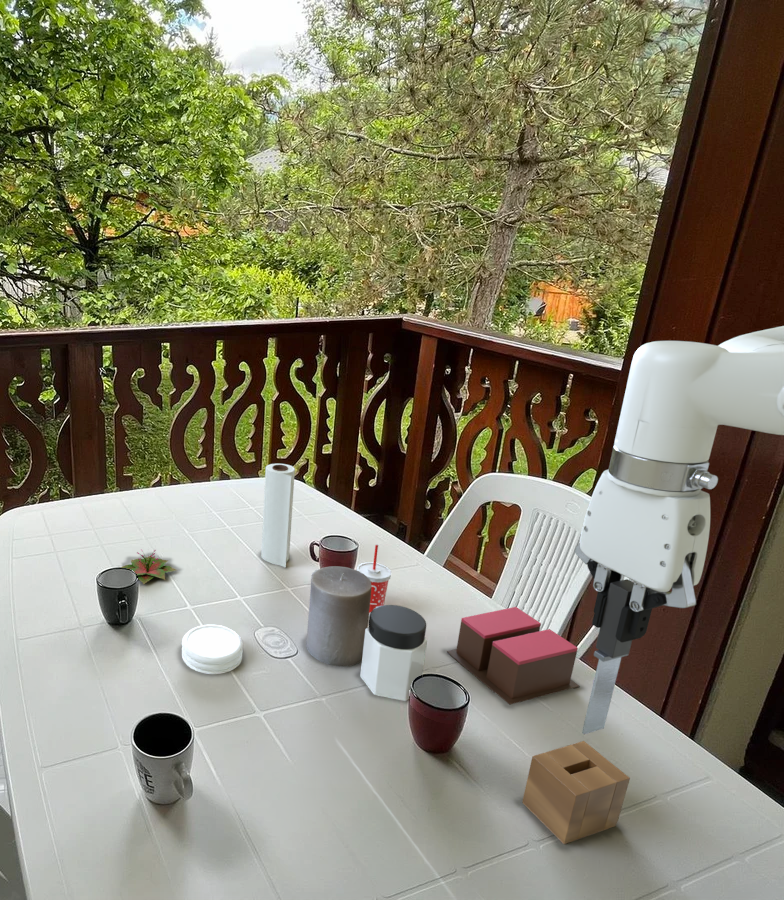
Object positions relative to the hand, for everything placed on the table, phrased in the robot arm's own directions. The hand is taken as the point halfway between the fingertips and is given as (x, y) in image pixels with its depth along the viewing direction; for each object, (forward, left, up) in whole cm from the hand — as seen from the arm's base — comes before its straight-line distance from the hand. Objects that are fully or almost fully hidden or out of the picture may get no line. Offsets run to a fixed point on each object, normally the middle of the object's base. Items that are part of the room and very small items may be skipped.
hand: (616, 630), depth 68 cm
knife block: (0, 0, -26) cm, 26 cm away
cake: (+8, -27, -26) cm, 38 cm away
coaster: (+51, -6, -26) cm, 58 cm away
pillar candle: (+34, -18, -26) cm, 47 cm away
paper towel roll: (+55, -43, -26) cm, 75 cm away
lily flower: (+76, -25, -26) cm, 84 cm away
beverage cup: (+32, -33, -26) cm, 53 cm away
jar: (+24, -14, -26) cm, 38 cm away
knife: (0, 0, -13) cm, 13 cm away
